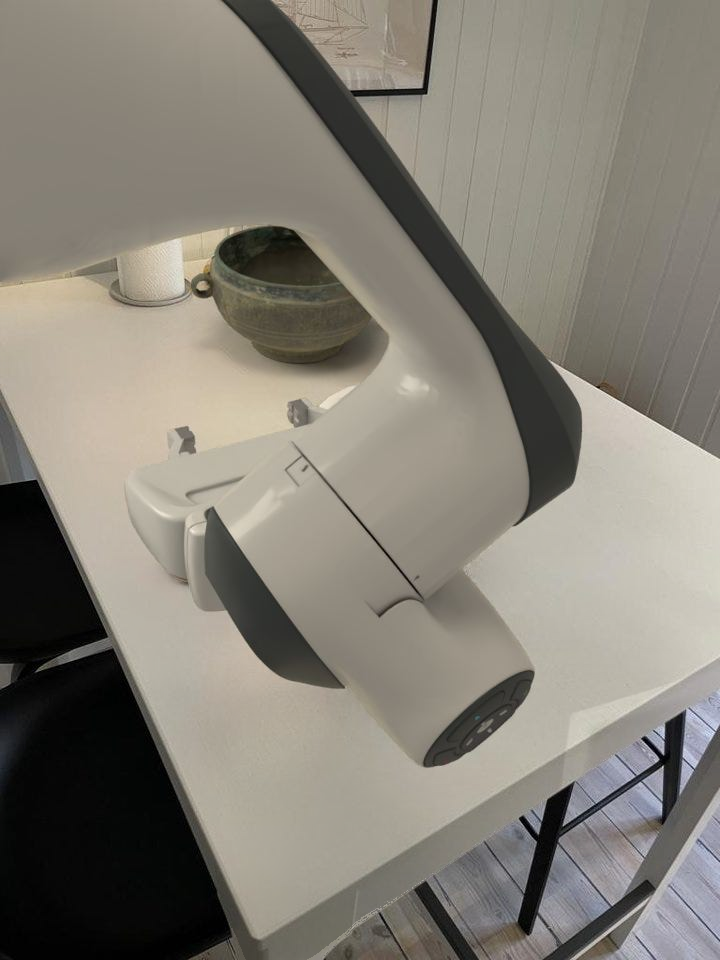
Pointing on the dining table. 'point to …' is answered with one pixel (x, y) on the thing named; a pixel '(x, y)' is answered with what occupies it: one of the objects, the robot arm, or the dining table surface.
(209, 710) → the dining table surface
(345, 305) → the bowl
